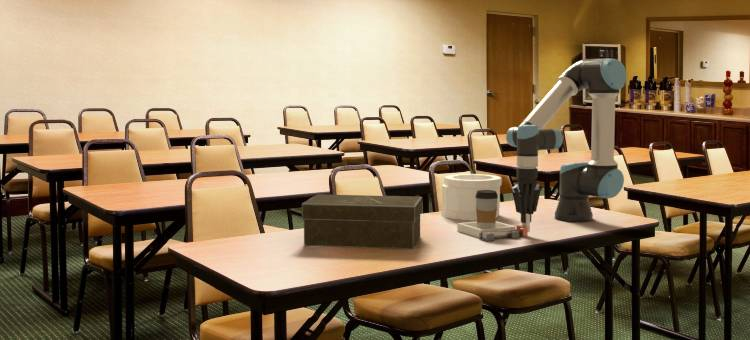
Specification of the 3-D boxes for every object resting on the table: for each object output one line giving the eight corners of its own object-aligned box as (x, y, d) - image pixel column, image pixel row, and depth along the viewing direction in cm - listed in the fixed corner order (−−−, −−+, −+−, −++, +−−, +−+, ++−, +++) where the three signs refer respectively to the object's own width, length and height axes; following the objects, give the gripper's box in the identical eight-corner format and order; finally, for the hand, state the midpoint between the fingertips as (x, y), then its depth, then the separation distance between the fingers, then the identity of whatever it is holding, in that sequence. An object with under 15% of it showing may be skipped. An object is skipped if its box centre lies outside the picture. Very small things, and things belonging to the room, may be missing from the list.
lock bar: (520, 234, 291) (520, 224, 291) (527, 236, 288) (527, 226, 287) (480, 239, 283) (480, 229, 283) (486, 241, 279) (486, 231, 279)
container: (469, 208, 351) (469, 172, 349) (511, 215, 333) (512, 177, 332) (430, 215, 334) (430, 177, 332) (473, 222, 317) (473, 182, 315)
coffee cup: (496, 233, 290) (497, 193, 288) (474, 232, 292) (474, 192, 290) (497, 229, 298) (498, 190, 296) (475, 228, 300) (476, 189, 298)
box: (414, 250, 267) (415, 206, 265) (302, 246, 273) (301, 203, 271) (421, 237, 289) (422, 196, 287) (317, 234, 295) (316, 194, 293)
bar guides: (510, 235, 290) (511, 229, 289) (519, 237, 285) (519, 231, 285) (479, 239, 283) (479, 232, 283) (486, 241, 279) (487, 234, 279)
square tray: (490, 227, 305) (491, 219, 305) (515, 234, 292) (515, 226, 291) (457, 231, 298) (457, 223, 298) (480, 238, 285) (480, 230, 284)
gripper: (534, 165, 293) (533, 228, 296) (506, 167, 287) (505, 231, 290) (548, 167, 287) (546, 231, 289) (519, 169, 281) (517, 234, 283)
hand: (525, 231), depth 290 cm, fingers closed
